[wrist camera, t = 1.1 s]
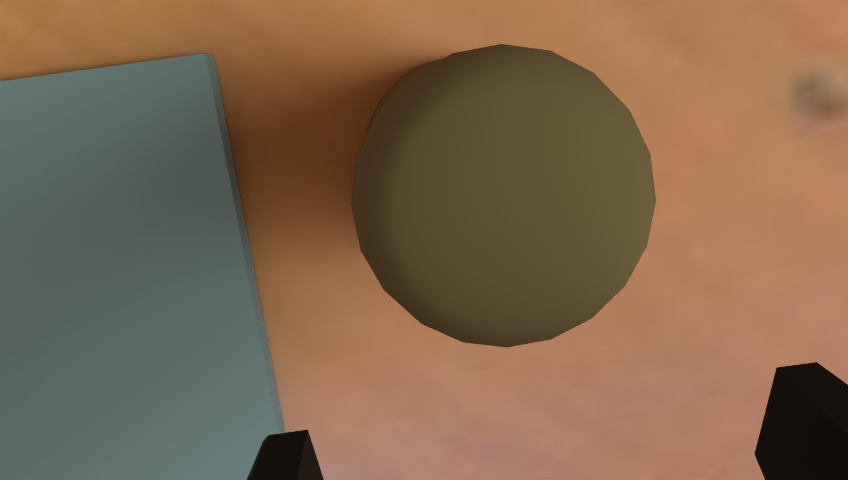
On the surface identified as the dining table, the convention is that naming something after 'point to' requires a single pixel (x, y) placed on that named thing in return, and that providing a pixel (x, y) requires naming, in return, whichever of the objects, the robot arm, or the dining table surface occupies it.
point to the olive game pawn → (502, 195)
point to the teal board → (127, 281)
